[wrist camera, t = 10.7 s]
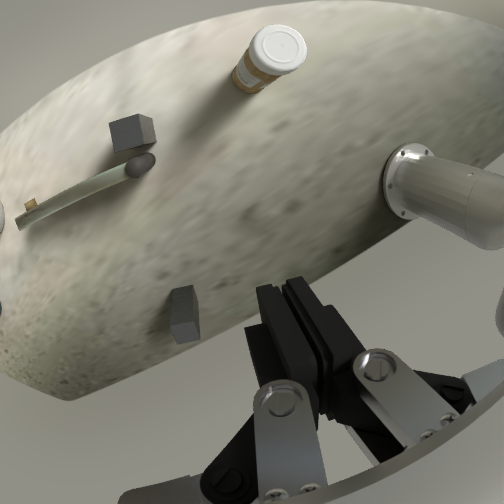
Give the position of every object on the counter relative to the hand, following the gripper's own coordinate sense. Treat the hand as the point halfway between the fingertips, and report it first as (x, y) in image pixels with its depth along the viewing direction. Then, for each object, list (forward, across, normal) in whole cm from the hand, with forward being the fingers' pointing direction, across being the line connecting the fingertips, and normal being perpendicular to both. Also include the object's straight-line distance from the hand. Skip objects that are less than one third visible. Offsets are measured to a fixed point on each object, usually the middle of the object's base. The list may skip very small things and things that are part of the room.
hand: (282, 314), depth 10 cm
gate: (+27, +16, -5) cm, 31 cm away
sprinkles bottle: (+27, -6, -13) cm, 31 cm away
